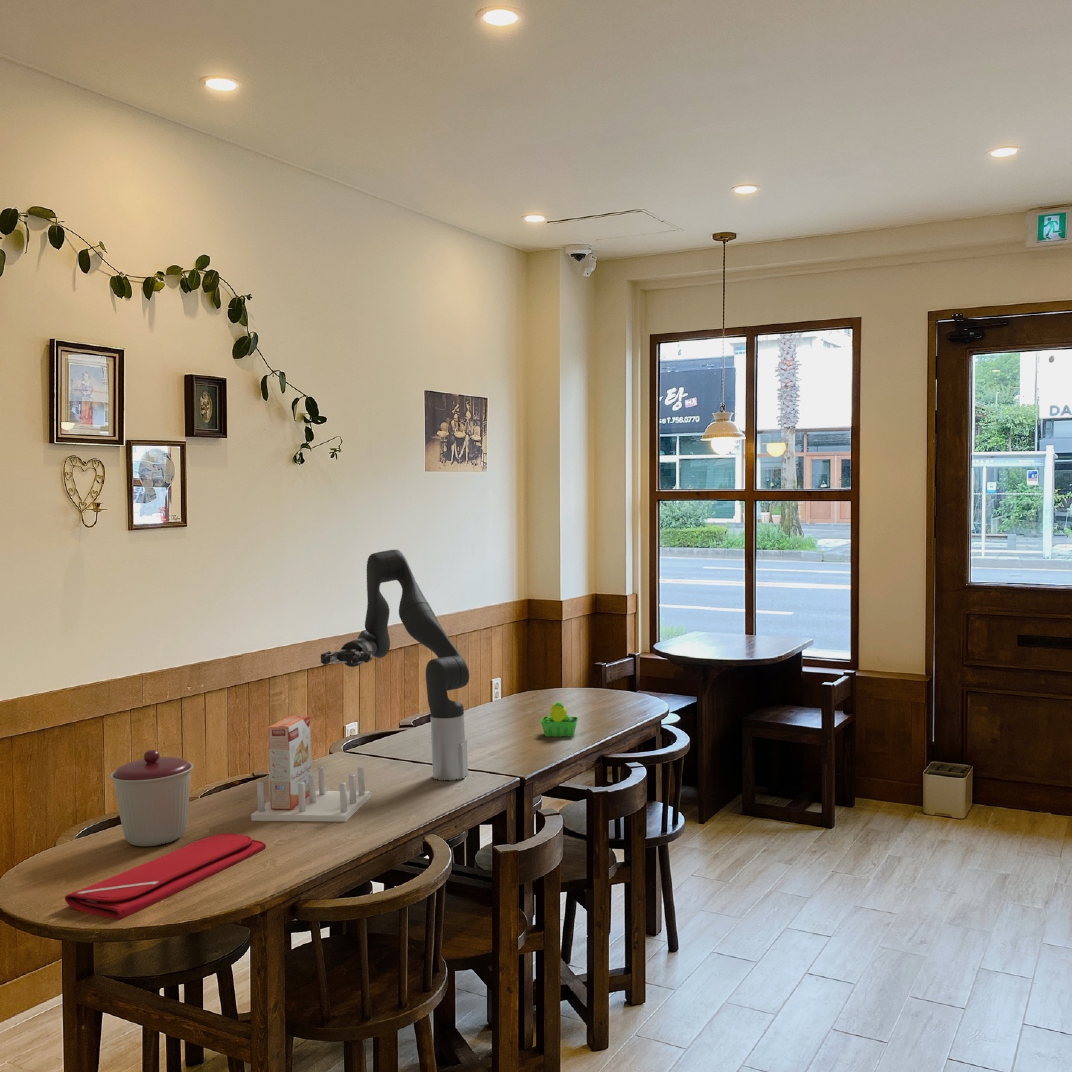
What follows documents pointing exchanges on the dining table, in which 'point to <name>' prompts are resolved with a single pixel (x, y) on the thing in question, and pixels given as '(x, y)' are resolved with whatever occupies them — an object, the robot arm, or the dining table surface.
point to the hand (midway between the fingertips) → (338, 661)
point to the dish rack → (316, 801)
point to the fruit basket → (559, 722)
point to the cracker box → (289, 760)
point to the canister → (153, 798)
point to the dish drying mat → (163, 876)
